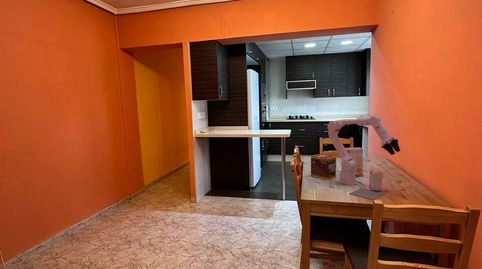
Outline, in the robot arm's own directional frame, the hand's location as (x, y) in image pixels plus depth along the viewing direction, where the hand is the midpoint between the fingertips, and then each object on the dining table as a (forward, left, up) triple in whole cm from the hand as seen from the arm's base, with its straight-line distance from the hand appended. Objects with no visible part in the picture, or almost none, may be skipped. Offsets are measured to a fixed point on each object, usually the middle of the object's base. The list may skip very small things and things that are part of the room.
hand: (396, 153), depth 150 cm
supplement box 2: (-9, -6, -24) cm, 26 cm away
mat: (-9, -17, -24) cm, 30 cm away
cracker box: (-36, +15, -24) cm, 45 cm away
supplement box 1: (-49, -2, -24) cm, 54 cm away
